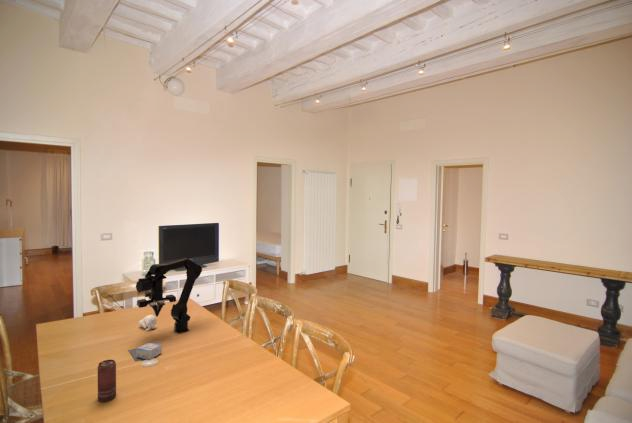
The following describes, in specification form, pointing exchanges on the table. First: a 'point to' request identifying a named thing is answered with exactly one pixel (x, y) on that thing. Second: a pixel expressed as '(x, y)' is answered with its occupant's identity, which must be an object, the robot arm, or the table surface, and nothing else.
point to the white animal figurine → (148, 322)
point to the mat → (134, 354)
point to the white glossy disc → (149, 362)
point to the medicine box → (148, 350)
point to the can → (106, 380)
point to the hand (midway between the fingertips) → (156, 316)
